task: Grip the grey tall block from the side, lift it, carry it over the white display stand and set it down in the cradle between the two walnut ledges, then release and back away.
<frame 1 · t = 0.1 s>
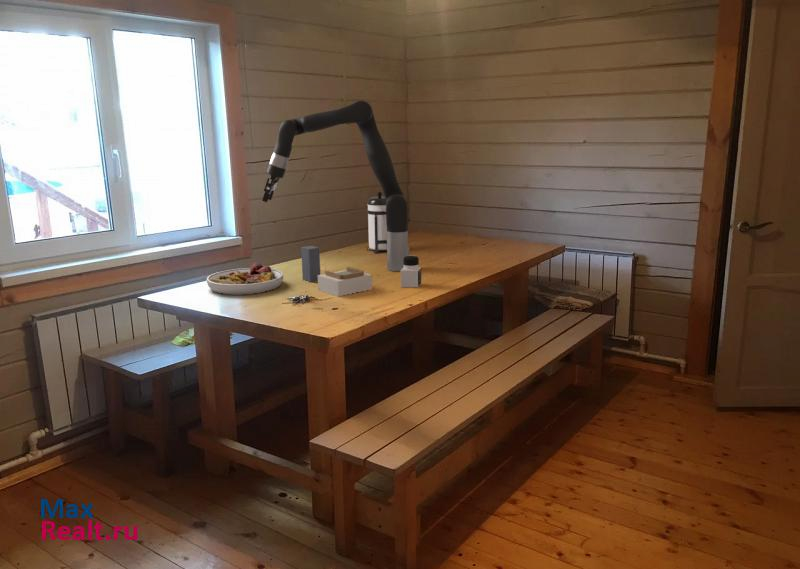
hand: (266, 200, 293), 31 cm above the table, tool tilted 20°, fingers open, 8 cm apart
medicine bottle: (411, 285, 270), on the table
coffee press: (382, 251, 341), on the table
bowl: (246, 288, 271), on the table
grey tall block: (311, 280, 281), on the table
display stand: (345, 289, 264), on the table
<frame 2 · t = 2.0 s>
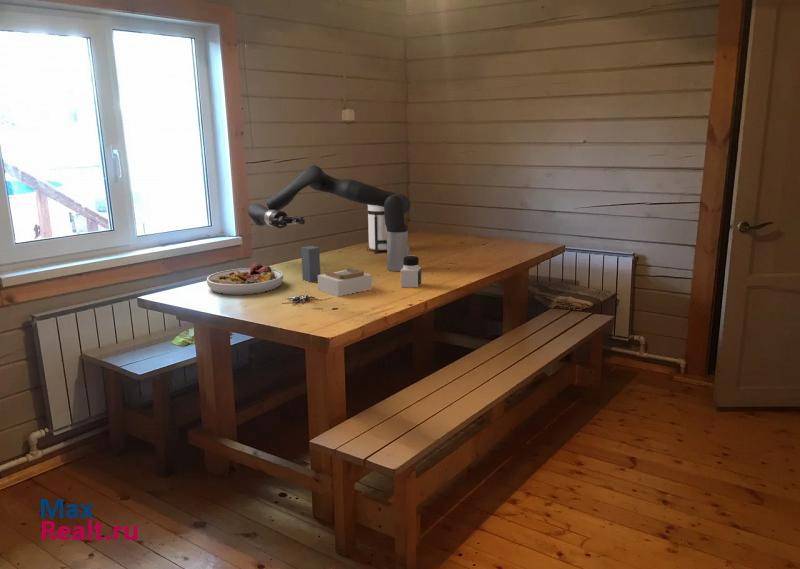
hand: (295, 222, 284), 23 cm above the table, tool horizontal, fingers open, 8 cm apart
nothing on the table moved.
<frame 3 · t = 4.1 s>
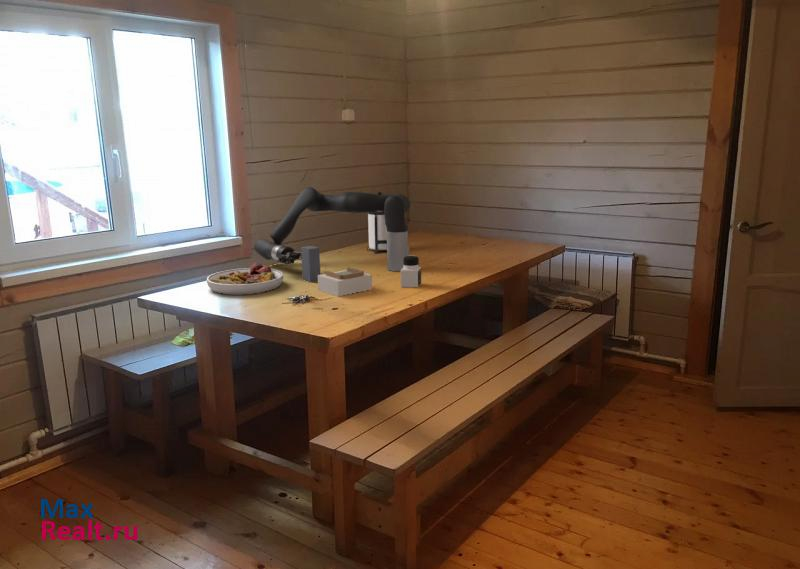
hand: (302, 259, 284), 8 cm above the table, tool horizontal, fingers open, 8 cm apart
nothing on the table moved.
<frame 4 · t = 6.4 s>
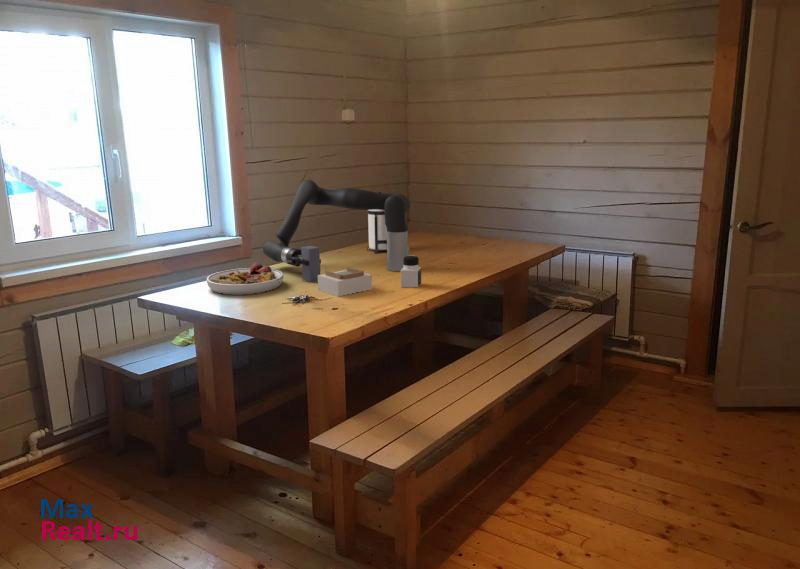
hand: (314, 262, 277), 8 cm above the table, tool horizontal, fingers closed on grey tall block, 5 cm apart
grey tall block: (311, 280, 281), on the table, touching gripper
everything else where it was.
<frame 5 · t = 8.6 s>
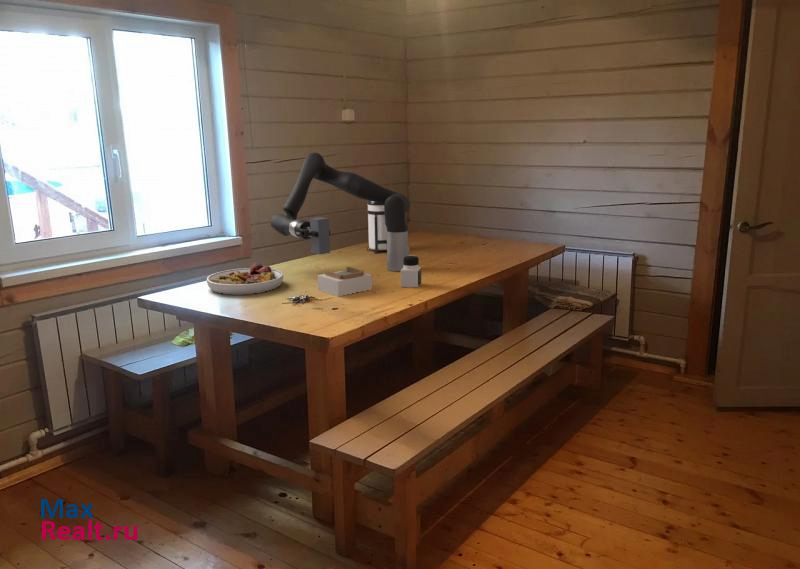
hand: (323, 233, 269), 21 cm above the table, tool horizontal, fingers closed on grey tall block, 5 cm apart
grey tall block: (320, 252, 273), point 13 cm above the table, touching gripper
everything else where it was.
when the fingers open (15 cm above the table, at t = 11.3 s): grey tall block drops 1 cm, resting on display stand.
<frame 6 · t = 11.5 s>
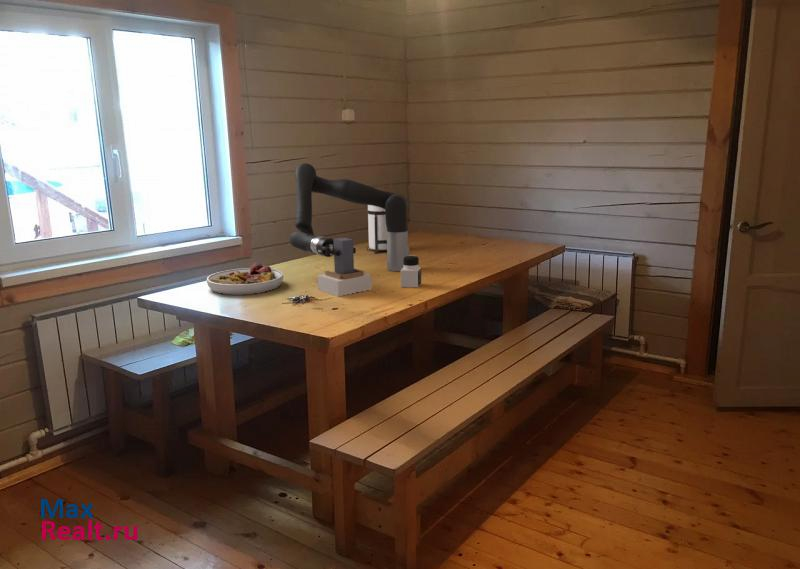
hand: (347, 252, 259), 16 cm above the table, tool horizontal, fingers open, 6 cm apart
grey tall block: (344, 274, 263), point 6 cm above the table, touching display stand
everything else where it was.
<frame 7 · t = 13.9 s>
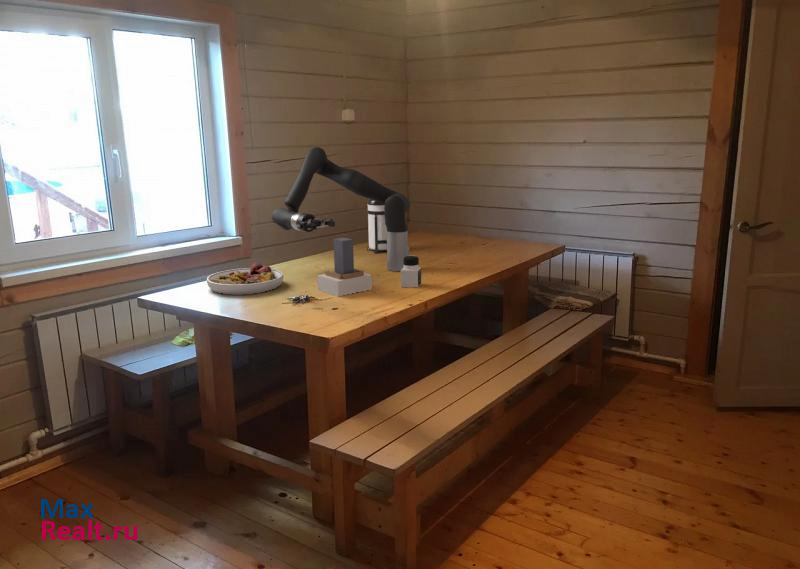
hand: (325, 225, 268), 24 cm above the table, tool horizontal, fingers open, 8 cm apart
nothing on the table moved.
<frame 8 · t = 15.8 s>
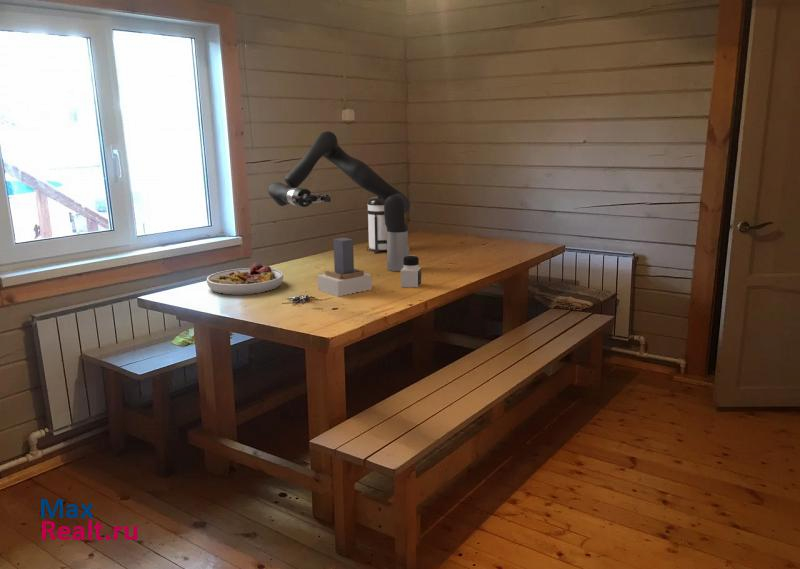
hand: (320, 200, 267), 34 cm above the table, tool horizontal, fingers open, 8 cm apart
nothing on the table moved.
at the end: grey tall block inside the target area on the display stand (0.1 cm from its centre), point 6.2 cm above the display stand's base; grey tall block tilted 0°; the gripper is holding nothing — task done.
